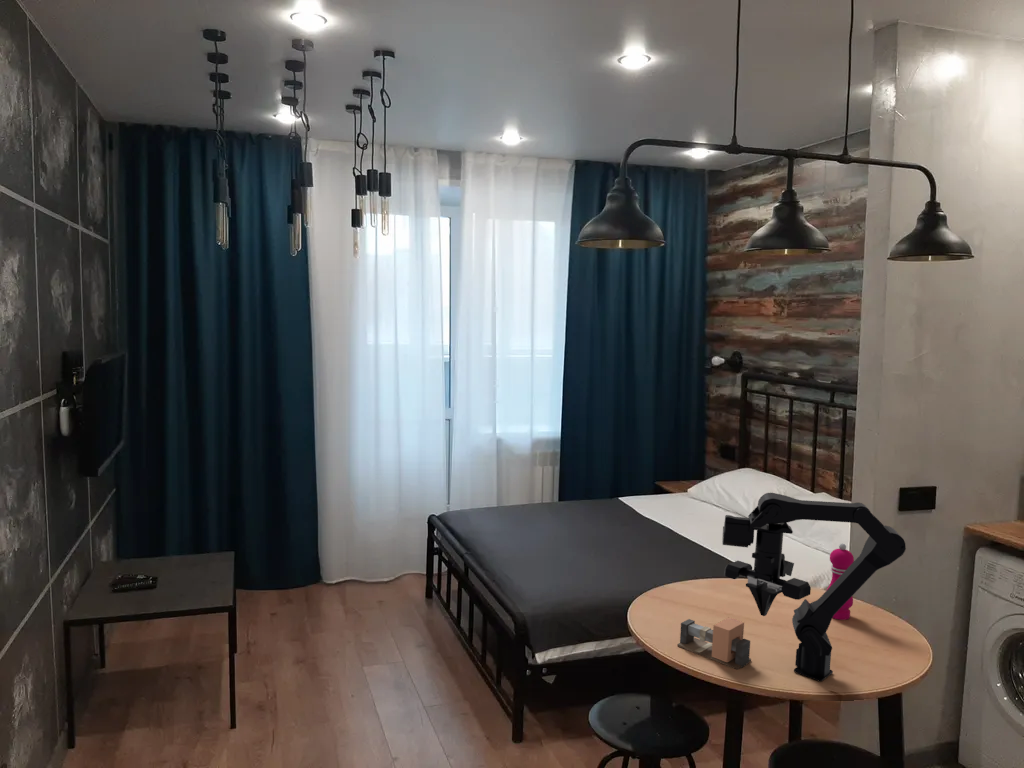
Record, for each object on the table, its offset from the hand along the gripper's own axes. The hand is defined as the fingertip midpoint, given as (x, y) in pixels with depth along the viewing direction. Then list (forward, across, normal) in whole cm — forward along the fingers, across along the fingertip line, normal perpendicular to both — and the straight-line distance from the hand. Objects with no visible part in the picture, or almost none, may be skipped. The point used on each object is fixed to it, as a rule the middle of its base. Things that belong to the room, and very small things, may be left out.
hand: (763, 615), depth 177 cm
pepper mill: (+12, +2, -44) cm, 46 cm away
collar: (+12, +7, +3) cm, 14 cm away
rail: (+12, +10, +3) cm, 16 cm away
